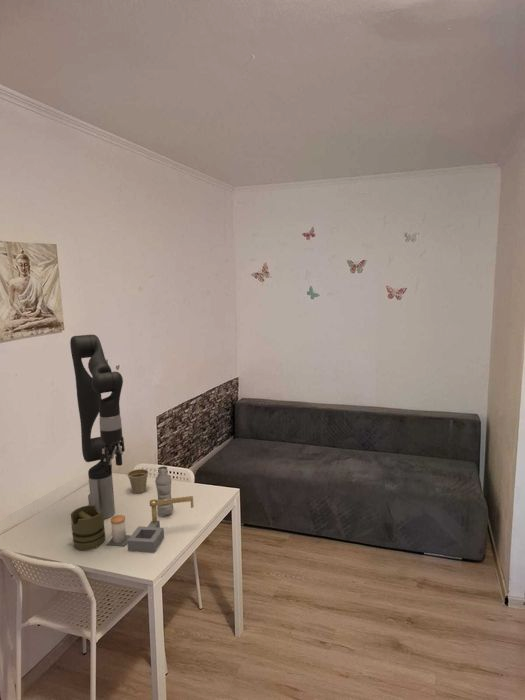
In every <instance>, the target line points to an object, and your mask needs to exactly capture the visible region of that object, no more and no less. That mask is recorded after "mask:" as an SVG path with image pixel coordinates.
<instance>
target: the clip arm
mask: <svg viewBox="0 0 525 700" xmlns="http://www.w3.org/2000/svg"><path fill="white" fill-rule="evenodd" d="M186 502H190V508H191V509H192V508H193V509H194V496H193V495H190V496H189V495H188V496H181V497H180V496H179V497H171V499H162V500H158V499H151V500H149V507H151V506H152V507H154V506H156V507H157V505H163V504H171V503H173V504H177V503H178V504H179V503H186ZM152 507H151V508H152Z"/></svg>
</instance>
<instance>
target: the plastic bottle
mask: <svg viewBox="0 0 525 700" xmlns="http://www.w3.org/2000/svg"><path fill="white" fill-rule="evenodd" d="M168 472H169V470H168V467H167V466H164V465H163V466H159V467H158V468H157V473H158V474H157V476H156V477H155V480H154V482H155V486H156V493H157V500H162V499H171V498H172V492H171V491H172V477H171V475H170V474H169V473H168ZM156 510H157V514H159V515H160V516H169V515H172V513H173V512H174V503H171V504H163V505H157V506H156Z"/></svg>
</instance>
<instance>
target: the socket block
mask: <svg viewBox="0 0 525 700" xmlns="http://www.w3.org/2000/svg"><path fill="white" fill-rule="evenodd" d="M150 507H151V518H152V519H151V521H150V522H149V524H148V525H147V526H142V525H141V526H140V525H139V526H137V528H136V529H135V530H134V531H133V533H132V534H130V535H131V536H130V538H129V539H128V540H127V544H126V545H127V551H128V552H140V553H141V552H142V553H155V552H156V551H157V549H158V548H159V546H160V545H161V544H162V542H163V540H164V539H165V529H164V527H161V525H160V524H161V523H160V522H161V521H160V520H158V511H157V506H154V507H152V506H150Z"/></svg>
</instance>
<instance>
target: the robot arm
mask: <svg viewBox="0 0 525 700" xmlns="http://www.w3.org/2000/svg"><path fill="white" fill-rule="evenodd" d="M101 343H102V342H101V340H100V339H99V337H98V336H97V335H96V334H81V335H80V334H79V335H73V336H71V338H70V342H69V344H70V345H69V346H70V347H69V348H70V352H71V358H72V364H73V369H74V371H73V372H74V375H75V388H76V398H77V407H78V413H79V420H80V433H81V436H80V437H81V450H82V452H81V453H82V456H83V460H84V461H85V462H86V463H92V462H96V461H98V462H97V463H96V464H94V465H93V466H92V467H90V468H89V469H88V471H87V472H88V473H87V474H88V485H89V486H88V487H89V494H88V495H87V498H88V499H87V500H88V505H96V508H97V510H98V511H99V512H101V510H103V516H104V520H105V519H108V518H112V517H114V515H115V513H116V507H115V506H116V505H115V497H114V496H115V494H114V493H115V492H114V481H113V471H112V470H113V469H112V467H113V466H112V465H113V464H112V461H113V459H114V457H115V465H116V466H122V465H123V456H122V455H123V453H125V439H124V436H123V427H122V426H123V425H122V424H123V423H122V417H121V411H120V410H121V409H120V408H121V407H120V399H121V393H122V388H123V383H124V379H123V375H122V374H121V373H120V372H119V371H112V368H111V366H110V364H109V363H108V361H107V359H106V356H105V353H104V351H103V346H102V344H101ZM87 358H89V360H88V362H87V363H88V364H87V368H88V371H89V372H90V374H89V372H88V371H87V370H86V368H85V365H84V363H83V359H87ZM104 393H110V395H108V396H107V397H104V398H102V394H104ZM98 416H99V432H100V436H97V437H93V438H91V436H92V429H93V426H94V423H95V421H96V419H97V417H98Z"/></svg>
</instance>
